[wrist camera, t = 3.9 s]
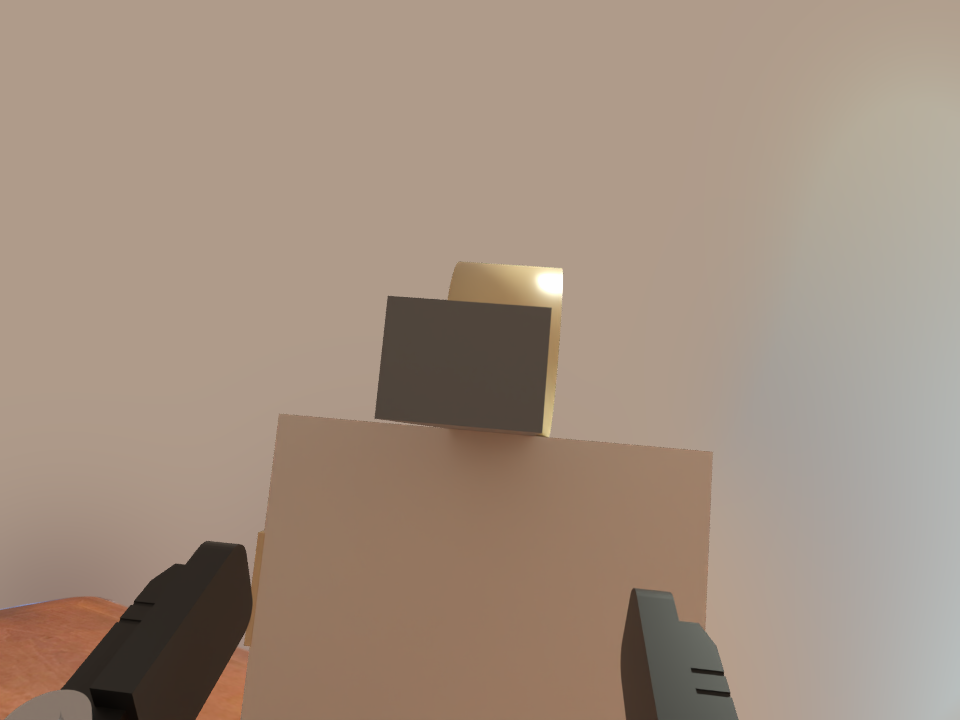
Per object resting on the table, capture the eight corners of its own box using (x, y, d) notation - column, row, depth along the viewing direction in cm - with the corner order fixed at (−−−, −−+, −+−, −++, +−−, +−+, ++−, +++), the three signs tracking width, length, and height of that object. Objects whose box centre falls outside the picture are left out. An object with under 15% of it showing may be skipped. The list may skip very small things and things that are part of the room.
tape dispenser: (455, 430, 42) (469, 284, 43) (545, 438, 41) (556, 290, 42) (333, 414, 15) (378, 29, 16) (585, 436, 14) (611, 38, 16)
